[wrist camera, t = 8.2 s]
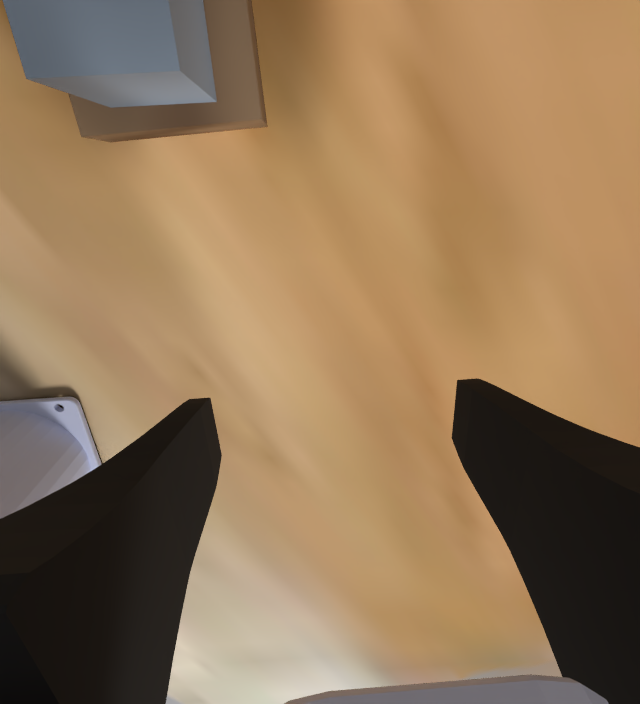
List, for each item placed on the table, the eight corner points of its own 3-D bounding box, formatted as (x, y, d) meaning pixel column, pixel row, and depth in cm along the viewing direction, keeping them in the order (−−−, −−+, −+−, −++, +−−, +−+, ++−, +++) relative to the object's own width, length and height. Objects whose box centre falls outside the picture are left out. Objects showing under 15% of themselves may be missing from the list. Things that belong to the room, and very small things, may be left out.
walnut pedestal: (114, 143, 18) (81, 136, 15) (60, -63, 15) (6, -116, 12) (268, 128, 18) (262, 119, 15) (241, -81, 15) (228, -138, 12)
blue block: (110, 107, 15) (26, 78, 10) (77, -32, 13) (-40, -140, 9) (217, 101, 15) (179, 70, 10) (197, -38, 13) (143, -148, 9)
